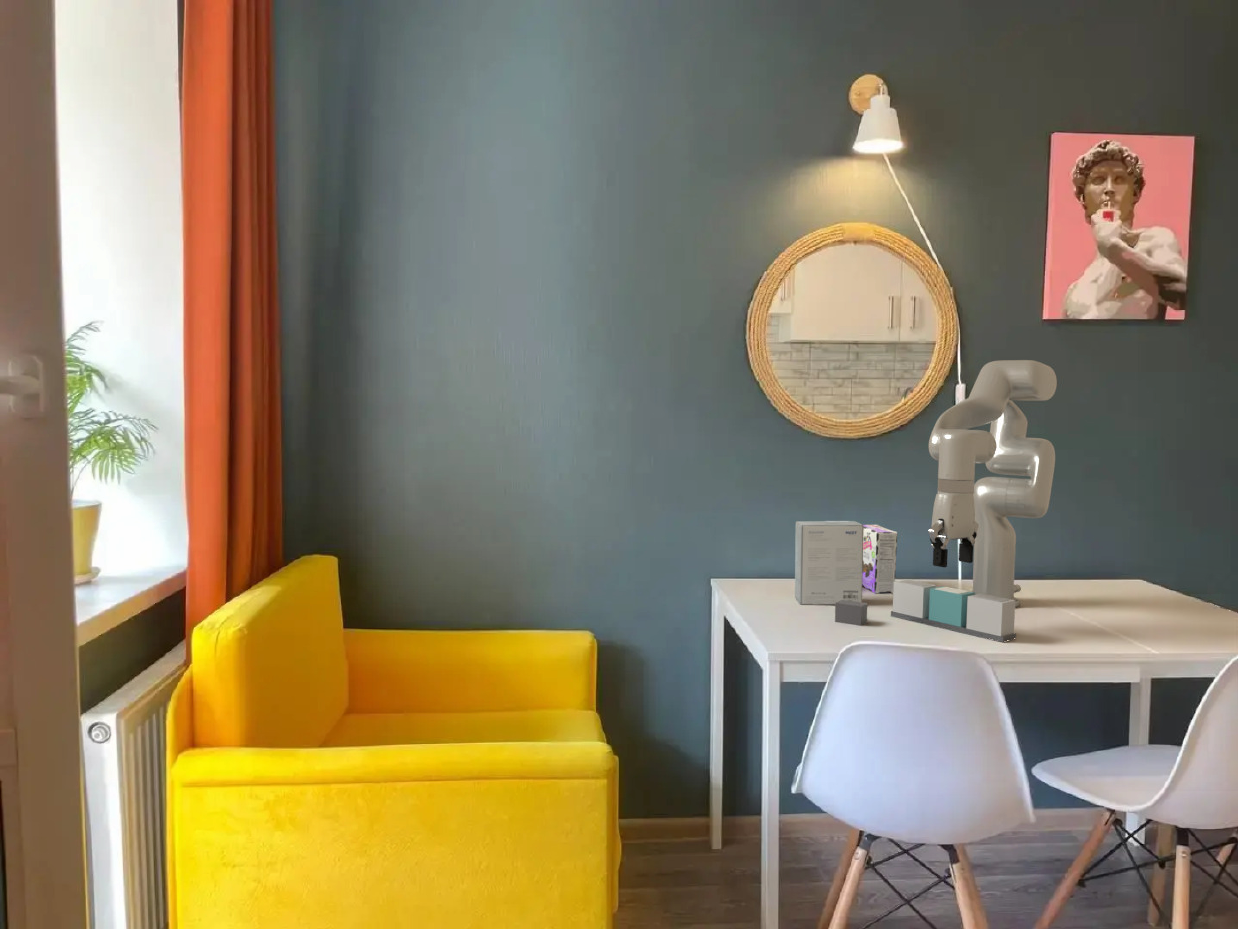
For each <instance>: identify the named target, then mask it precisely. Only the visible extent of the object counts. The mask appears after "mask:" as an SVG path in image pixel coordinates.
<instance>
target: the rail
mask: <svg viewBox="0 0 1238 929" xmlns="http://www.w3.org/2000/svg"><path fill="white" fill-rule="evenodd" d="M890 617H892V618H893V617H894V618H898V619H902V620H906V621H911V622H915V623H918V624H919V623H920V624H923V625H927V626H932V627H936V628H939V629H943V630H944V629H945V630H948V631H952V632H957V633H961V634H965V635H969V636H974V637H978V638H983V639H986V638H990V639H993V640H992V641H995V640H998V641H997V642H999V641H1002V642H1001V643H1005V642H1004V641H1007V640H1010V641H1012V640H1011V639H1014V638H1016V639H1017V633H1016V632H1014V633H1012V634H1008V635H1004V636H997V635H993V634H989V633H984V632H980V631H976V630H971V629H967V628H966V626H967V625H966V626H962V627H959V626H955V625H951V624H946V623H942V622H938V621H933V620H929V617H926V618H919V617H915V616H910V615H906V614H902V613H897V612H893V610H891V611H890ZM990 639H989V640H990ZM1014 640H1015V639H1014ZM1007 642H1008V641H1007Z"/></svg>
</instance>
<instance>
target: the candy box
mask: <svg viewBox="0 0 1238 929" xmlns="http://www.w3.org/2000/svg"><path fill="white" fill-rule="evenodd" d="M862 525H863V526H864V531H863V575H862V587H863V586H864V587H865V589H866V590H868V589H869V590H868V591H870V590H871V591H872V592H871V591H870V592H871V593H873V592H874V593H873V594H885V593H893V590H894V582H895V581H896V571H897V570H896V568H897V552H898V550H897V548H898V547H897V546H898V531H895V530H892V529H888V528H885V527H884V526H881V525H879V524H862ZM864 587H863V588H864Z"/></svg>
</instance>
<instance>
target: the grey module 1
mask: <svg viewBox="0 0 1238 929" xmlns="http://www.w3.org/2000/svg"><path fill="white" fill-rule="evenodd" d="M937 586H938V585H936V584H932V583H928V582H923V581H917V580H912V579H902V580H895V582H894V590H893V594H892V597H893V598H892V611H893V612H897V613H902V614H906V615H910V616H915V617H919V618H926V617H929V601H930V589H931V588H936V587H937Z"/></svg>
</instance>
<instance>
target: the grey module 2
mask: <svg viewBox="0 0 1238 929" xmlns="http://www.w3.org/2000/svg"><path fill="white" fill-rule="evenodd" d="M1015 615H1016V607H1015V600H1011V599H1005V598H1000V597H995V596H990V595H985V594H977V595H972V596H968V602H967V626H966V628H967V629H971V630H976V631H980V632H984V633H989V634H993V635H997V636H1004V635H1008V634H1012V633H1015V619H1016V618H1015V617H1016V616H1015Z"/></svg>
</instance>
